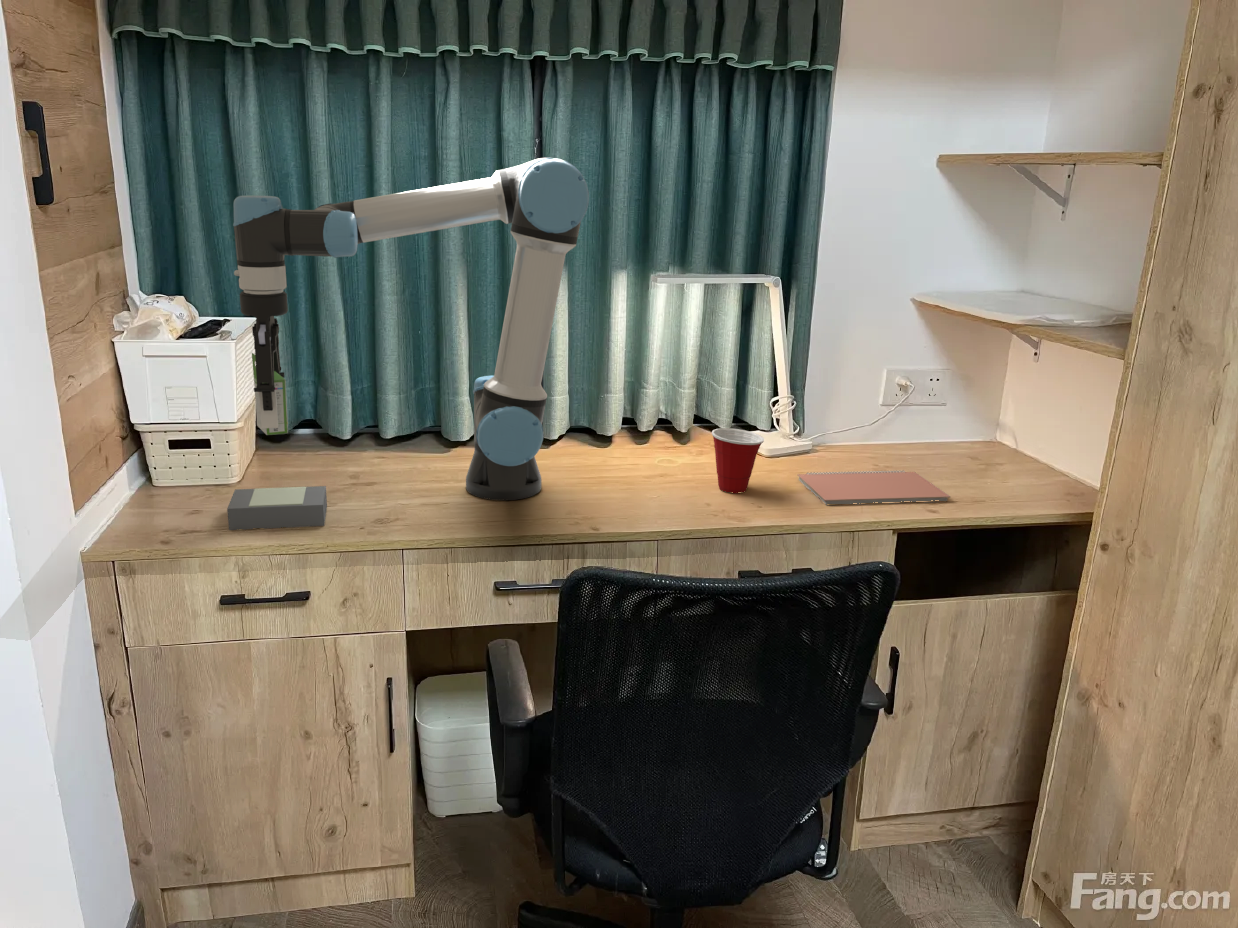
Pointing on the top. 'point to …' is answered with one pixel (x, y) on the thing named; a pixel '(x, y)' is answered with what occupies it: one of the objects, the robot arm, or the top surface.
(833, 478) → the notebook
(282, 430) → the ink box
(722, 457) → the plastic cup
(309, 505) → the plinth
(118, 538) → the top surface
